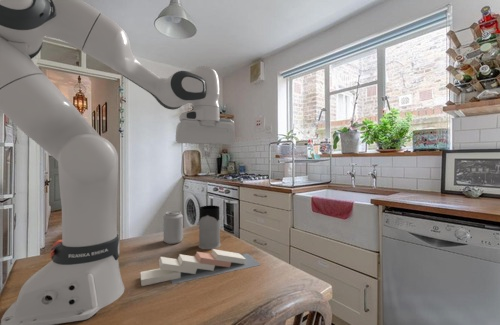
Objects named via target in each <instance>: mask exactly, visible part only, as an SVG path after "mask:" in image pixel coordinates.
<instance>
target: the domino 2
mask: <svg viewBox="0 0 500 325" xmlns="http://www.w3.org/2000/svg"><path fill="white" fill-rule="evenodd" d="M158 264H159V268H160V269H162V270H170V271H177V272H184V273H191V274H196V270H197V268H190V267H183V266H181V265H180V263H179V261H178V258H171V257H167V256H166V257H165V256H160V257H159V260H158Z"/></svg>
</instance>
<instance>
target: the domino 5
mask: <svg viewBox="0 0 500 325" xmlns="http://www.w3.org/2000/svg"><path fill="white" fill-rule="evenodd" d="M210 254H211V255H212V256H213V257H214V258H215V259H216V260H220V261H227V262H233V263H240V264H245V262H246V259H245V258H244V257H243V256H242V254H241V253H238V252H232V251H227V250H221V249H217V248H215V249H211V253H210Z"/></svg>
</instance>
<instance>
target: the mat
mask: <svg viewBox="0 0 500 325" xmlns="http://www.w3.org/2000/svg"><path fill="white" fill-rule="evenodd" d="M241 255H242V256H243V257H244V258H245V259H246V262H245V264H240V263H233V262H231V265H230V267H223V266H216V265H215V267H214V271H211V270H204V269H197V270H196V274H191V273H184V272H181V278H177V279H173V280H170V281H171V284H172V285H176V284H180V283H184V282H189V281H193V280H198V279H203V278H207V277H212V276H216V275H217V276H218V275H221V274H225V273H231V272H234V271H235V272H236V271H239V270H244V269H248V268H254V267H257V266H261V265H262V263H260V262H259V261H258V260H257V259H255V258H254V257H253V256H252V255H250V254H249V253H243V254H241Z"/></svg>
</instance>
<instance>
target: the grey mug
mask: <svg viewBox="0 0 500 325" xmlns="http://www.w3.org/2000/svg"><path fill="white" fill-rule="evenodd" d="M198 223H199V224H198V229H199V231H198V232H199V234H198V238H199V239H198V241H199V242H198V248H199V249H201V250H212V249H218V248H220V247H221V218H220V206H219V205H210V204H209V205H202V206H200V207H199V219H198Z"/></svg>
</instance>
